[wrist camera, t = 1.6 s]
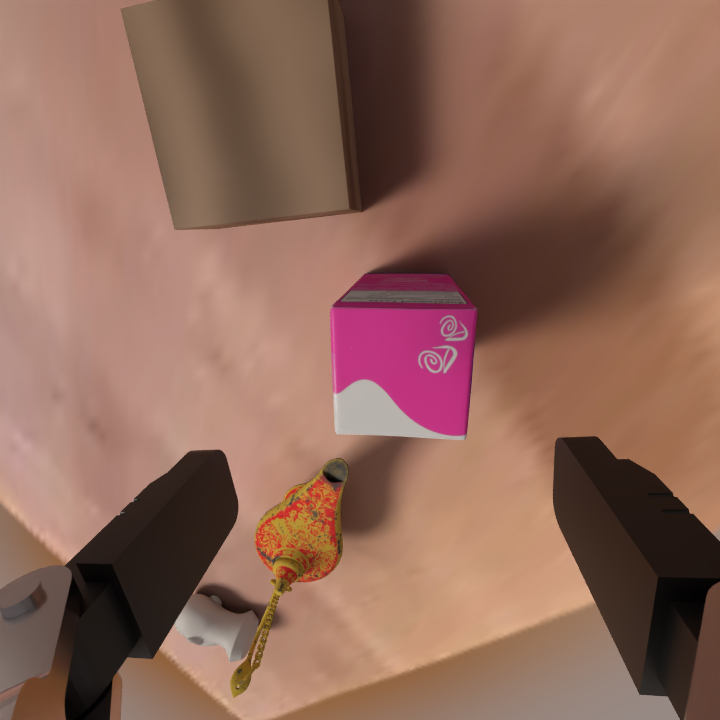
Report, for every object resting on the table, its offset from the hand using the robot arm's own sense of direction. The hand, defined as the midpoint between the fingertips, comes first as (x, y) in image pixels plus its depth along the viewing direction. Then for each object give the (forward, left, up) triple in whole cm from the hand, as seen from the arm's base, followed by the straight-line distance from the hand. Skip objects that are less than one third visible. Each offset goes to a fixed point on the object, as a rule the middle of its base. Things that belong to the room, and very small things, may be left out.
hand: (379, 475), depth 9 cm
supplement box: (0, 0, -18) cm, 18 cm away
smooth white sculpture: (+21, +29, -18) cm, 40 cm away
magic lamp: (+9, +15, -18) cm, 25 cm away
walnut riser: (+7, -12, -18) cm, 23 cm away
